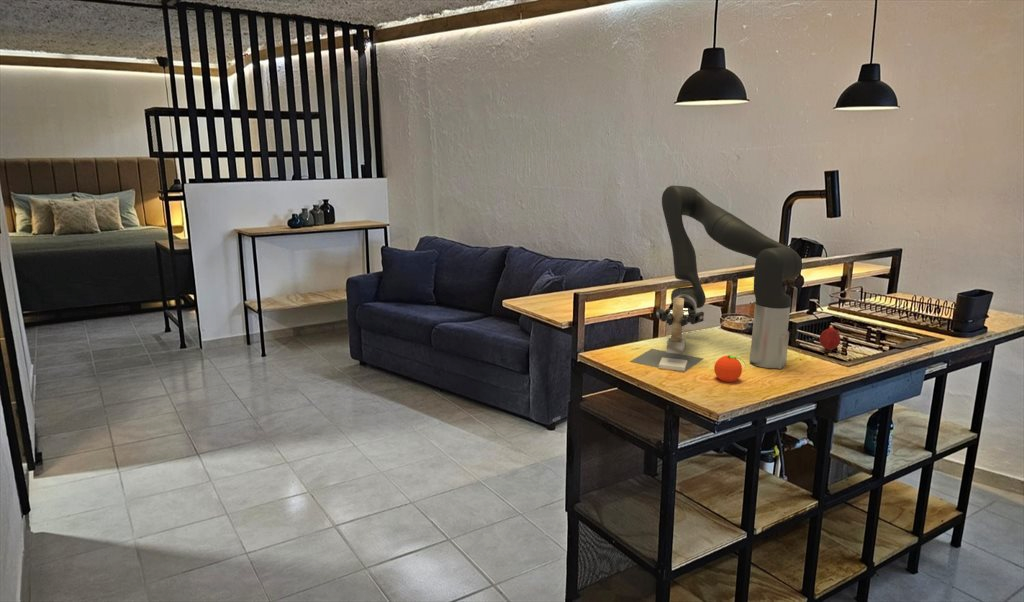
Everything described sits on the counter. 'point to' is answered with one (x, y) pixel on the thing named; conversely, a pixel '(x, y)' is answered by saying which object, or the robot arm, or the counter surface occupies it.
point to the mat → (655, 357)
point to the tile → (673, 364)
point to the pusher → (676, 328)
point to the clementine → (728, 368)
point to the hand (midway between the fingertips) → (676, 322)
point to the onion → (830, 338)
